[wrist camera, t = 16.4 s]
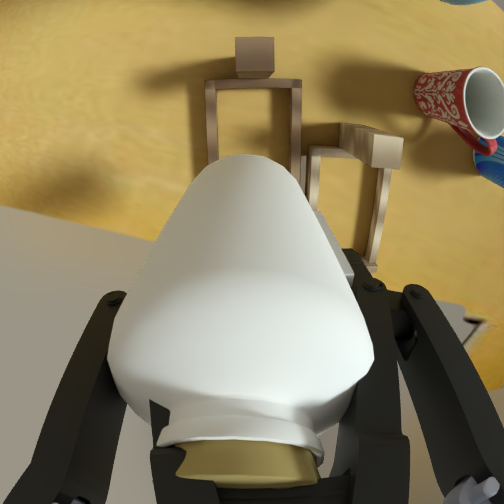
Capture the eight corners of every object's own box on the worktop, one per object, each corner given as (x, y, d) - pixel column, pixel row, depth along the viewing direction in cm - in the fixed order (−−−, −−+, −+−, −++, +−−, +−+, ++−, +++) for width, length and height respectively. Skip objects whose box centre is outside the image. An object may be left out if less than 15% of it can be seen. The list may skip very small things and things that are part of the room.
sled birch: (309, 120, 36) (334, 130, 26) (389, 128, 36) (434, 143, 26) (301, 264, 47) (315, 313, 37) (370, 262, 47) (397, 307, 37)
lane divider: (300, 154, 39) (301, 155, 38) (305, 154, 39) (306, 156, 38) (295, 255, 47) (295, 257, 46) (299, 255, 47) (300, 257, 46)
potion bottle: (163, 198, 20) (23, 440, 5) (258, 126, 18) (321, 348, 2) (234, 276, 24) (221, 519, 8) (324, 220, 21) (432, 469, 6)
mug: (398, 78, 33) (453, 78, 21) (438, 60, 30) (496, 59, 18) (429, 151, 38) (483, 177, 26) (465, 130, 35) (521, 150, 24)
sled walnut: (206, 57, 32) (188, 40, 21) (299, 56, 32) (319, 40, 21) (213, 213, 43) (201, 254, 32) (295, 211, 43) (310, 252, 32)
